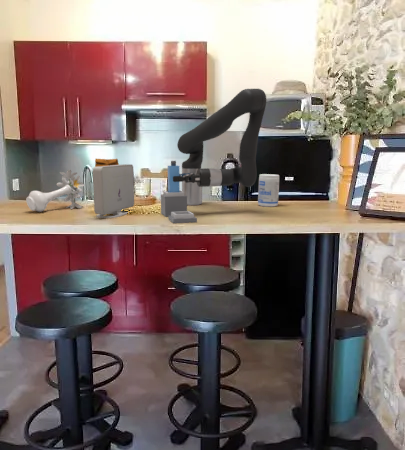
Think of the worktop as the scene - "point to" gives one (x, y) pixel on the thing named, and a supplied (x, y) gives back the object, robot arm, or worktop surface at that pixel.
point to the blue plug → (172, 171)
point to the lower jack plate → (182, 217)
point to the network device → (113, 189)
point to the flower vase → (57, 193)
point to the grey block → (173, 202)
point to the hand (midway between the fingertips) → (170, 178)
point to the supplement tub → (268, 190)
